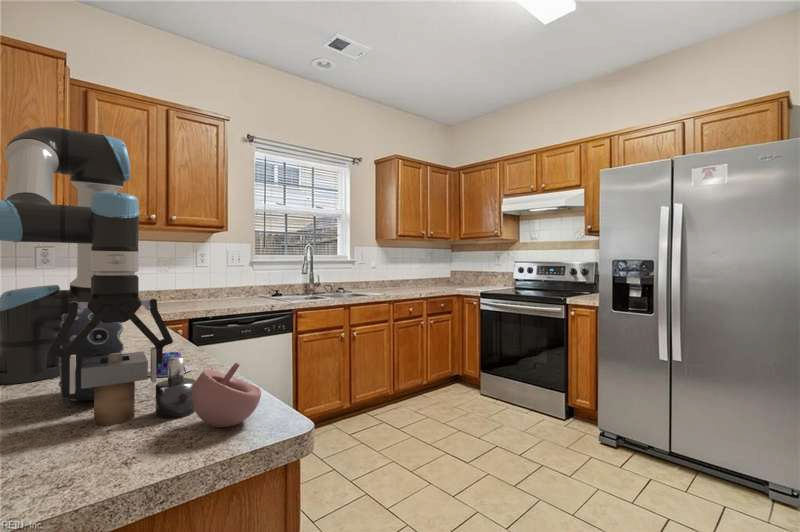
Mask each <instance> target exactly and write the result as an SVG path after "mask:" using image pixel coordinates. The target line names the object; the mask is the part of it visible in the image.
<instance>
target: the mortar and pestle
mask: <svg viewBox="0 0 800 532" xmlns="http://www.w3.org/2000/svg"><path fill="white" fill-rule="evenodd" d="M240 366H241V365H240V363H239V362H235V363H234V364H233V365H232V366H231V368H230V369H229V370H228V371H227V373H223V372H219V371H217V370H212V369H205V370H203V371H202V372H201V373H200V375H199V376H198V377H197V379H196V380H195V384H194V387H193V391H192V404H193V407H194V410H195V414H196V416H197V417H199V418H200V419H201V420H202V421H203V422H204V423H206V424H207V425H210V426H213V427H217V428H229V427H233V426H236V425H239V424H240V423H242V422H244V421H246V420H247V419H248V418H249V417H250V416H251V415H252V414H253V413H255V411H256V408H257V407H258V405H259V403H260V401H261V397H262V390H261V389H260V387H258V386H256V385H254V384H253V383H249V382H247V381H243V380H241V379H239V378H237V377H234V375H235V373H236V372H237V370H238V368H239V367H240Z"/></svg>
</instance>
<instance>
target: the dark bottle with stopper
mask: <svg viewBox="0 0 800 532" xmlns="http://www.w3.org/2000/svg"><path fill="white" fill-rule="evenodd" d="M184 365H185V357H184V356H182V357H172V358H169V359H168V376H167V380H163V381H160V382H158V383H157V382H156V384H155V418H156V419H159V420H177V419H181V418H184V417H188V416H190V415H193V414H194V412H195V410H194V407H193V404H192V391H193V387H194V384H195V382H196V380H195V379H193V378H190V377H189V378H187V377H185V373H184V372H185V371H184ZM195 413H196V412H195Z"/></svg>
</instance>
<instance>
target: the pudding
mask: <svg viewBox="0 0 800 532" xmlns="http://www.w3.org/2000/svg"><path fill="white" fill-rule="evenodd" d="M172 357H183V355H182V354H181V353H180V352H178V351H168V352H163V361H162V363H161V364H156V378H157V377H168V359H169V358H172ZM185 368H187V369H188V370H187V371H186V369H185ZM193 369H194V367H193V366H192V365H189V364H184V374H185V373H188V372H190V371H192V370H193ZM185 371H186V372H185ZM148 377H150V368H148Z"/></svg>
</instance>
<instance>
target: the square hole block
mask: <svg viewBox="0 0 800 532" xmlns="http://www.w3.org/2000/svg"><path fill="white" fill-rule="evenodd" d="M148 369H149V360H148V358H147V356H146V354H145V352H144V351H136V352H126V353H125V352H124V353H122V361H119V362H110V363H108V355H105V356H95V357H85V358H83V361H82V367H81V389H83V388H91V387H98V386H105V385H112V384H120V383H127V382H134V381H135V382H139V381H141V382H142V381H147V380H149V376H148Z"/></svg>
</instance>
